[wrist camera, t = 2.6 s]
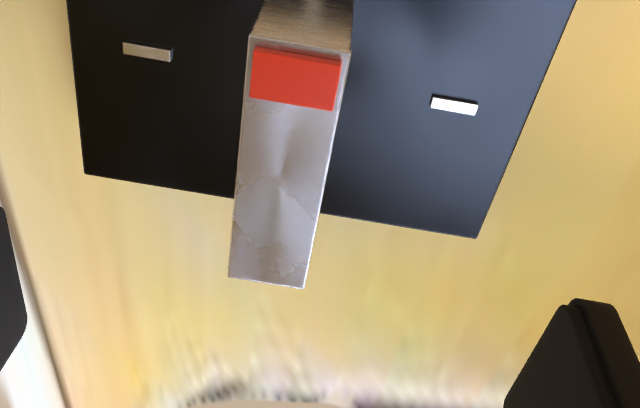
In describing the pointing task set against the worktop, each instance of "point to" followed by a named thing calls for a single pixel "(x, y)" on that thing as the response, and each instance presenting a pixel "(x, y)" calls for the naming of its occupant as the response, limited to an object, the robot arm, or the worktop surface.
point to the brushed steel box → (287, 135)
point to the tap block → (356, 108)
